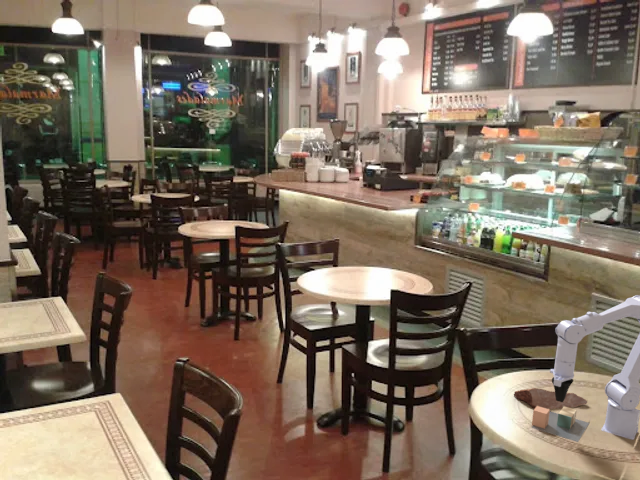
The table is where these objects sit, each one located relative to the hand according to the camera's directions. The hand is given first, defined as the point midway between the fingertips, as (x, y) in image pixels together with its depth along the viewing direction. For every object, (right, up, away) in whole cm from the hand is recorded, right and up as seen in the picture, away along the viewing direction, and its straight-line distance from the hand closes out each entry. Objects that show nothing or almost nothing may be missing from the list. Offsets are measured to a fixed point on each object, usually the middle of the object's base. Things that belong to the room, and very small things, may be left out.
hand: (559, 400), depth 194 cm
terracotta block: (-4, -9, +5) cm, 11 cm away
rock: (+6, -7, +23) cm, 25 cm away
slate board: (+2, -10, +6) cm, 11 cm away
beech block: (+3, -8, +4) cm, 9 cm away
